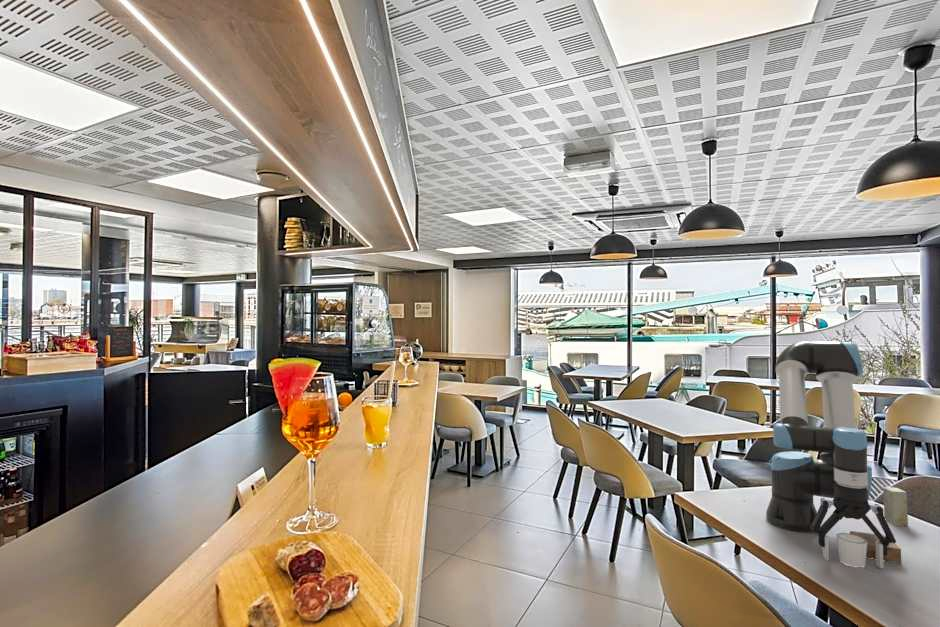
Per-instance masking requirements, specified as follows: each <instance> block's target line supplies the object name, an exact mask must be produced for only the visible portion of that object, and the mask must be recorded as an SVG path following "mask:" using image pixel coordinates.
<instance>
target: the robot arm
mask: <svg viewBox="0 0 940 627" xmlns="http://www.w3.org/2000/svg"><path fill="white" fill-rule="evenodd" d="M863 369H864V368H863V360H862V356H861V352H860V350H859V347H858V346H857V345H856V344H855V343H853V342H848V341H847V342H845V341H808V340H807V341H806V340H805V341H804V340H803V341H799V342H795V343H793V344H791V345H788V346H787V347H786V348H785V349H783V350H782V352H781V353H779V356H778V357H777V359H776V361H775V374H776V375H777V376H778V383H779V384H778V388H779V390H778V391H779V393H778V394H779V396H778V397H779V422H778V423H773V426H772V427H773V428H772V430H773V432H772V435H773V445H774V446H775V447H778V448H783V449H788V450H799V451H781V452H776V453H775V454H773V456H772V457H771V466H770V470H771V497H770V501H769V503H768V506H767V509H766V512H765V517H766V520H767V521H768V523H770V524H771V525H773V526H776V527H779V528H781V529H784V530H788V531H793V532H796V533H797V532H798V533H815V534H817V538H818V541H817V543H818V544H819V545H818V546H820V547H821V548H822V557H823V558H824V560H825V561H828V560H829V561H830V559H829V558H830V556H829V554H830V552H829V550H830V549H829V546H830V545H829V536H828V535H827V534H828V532H830V531H831V530H832V529H833V527H835V526H836V524H838V522H839V521H841V520H843V518H845V519H853V520H860V519H862V520H863V522H864V523H865V524H866V525H867V527H868V528H869V529H870V530H871V532H873V533H872V534H875V535H876V536H877V538H878V539H879V540H880V541H878V540H875V541H876V560H875V564H876V566H879V567H878V568H879V569H881V568H882V570H883V569H884V561H883V555H884V556H887V546H888V545H889V543H895V544H896V543H897V540H896V538H895V536H894V534H893V532H892V530H891V528H890V526H889V524H888V521H886V520H885V518H884V507H882V506H881V505H879V504H878V503H875V504H869V499H870V495H871V489H872V482H873V468H872V466H871V465H868V445H869V444H868V439H867V433H866V432H865V431H864V430H862V429H859V428H857V424H856V423H857V422H856V412H855V411H856V410H855V401H854V400H855V399H854V398H855V397H854V388H853V387H854V386H853V385H854V384H855V383H856V382H857V381H858V377H859V376H862V375H863V371H864V370H863ZM808 374H813V375H814V374H815V379H816V380H817V381H818V382H819V383H820V384H821V396H822V414H823V427H821V426H814V425H813V426H810V425H809V421H808V405H807V404H808V403H807V395H806V394H807V391H806V390H807V389H806V379H805V377H806V376H807V375H808ZM804 451H808V452H804ZM809 452H816V453H820V454H819V459H818V458H817V459H816V458H814V456H813V455H812V453H809ZM814 496H816V497H821V498H820V505H819V508H818V510H817V508H816V506H815V504H814V503H815V502H814ZM826 498H829V499H830V500H829V499H826ZM831 499H832V500H831ZM832 506H834V508H835V509H834V510H833V512H832V514H830V515H829V517H828V518H827V519H826V520H825V521H824V519H825V518H826V515H827V513H828V511H829V509H830V508H831V507H832ZM870 511H872V513H873V514H875V516H876V519H877V520H878V522H879V524H880V527H881V528H882V530H883V533H884V535H886V537H883V536H882V535H883V534H882V533H881V532H880V530H879V529H878V528H877V527H876V526H875V524H874V523H873V522H872V521H871V520H870V518H869V517H868V516H867V514H868V513H869V512H870Z"/></svg>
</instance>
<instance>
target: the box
mask: <svg viewBox="0 0 940 627" xmlns="http://www.w3.org/2000/svg"><path fill="white" fill-rule="evenodd" d="M882 490H883V492H882V493H883V494H882V495H883V515H884V518H885V519H886V520H887V521H886V522H888V521H889V522H888V523H890V524H891V523H892V525H893V524H896V525H895V526H904V525H907V526H909V518H908V497H907V496H908V495H907V493H908V492H906V491H905V490H902V489H900V488H898V487H889V486H883V487H882ZM907 526H906V527H907Z"/></svg>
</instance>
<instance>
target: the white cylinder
mask: <svg viewBox="0 0 940 627" xmlns="http://www.w3.org/2000/svg"><path fill="white" fill-rule="evenodd" d="M836 544H837V550H838V559H839V561H842V562H843V563H846V564H849V565H852V566H857V567H862V566H865V567H866V563H867V562H866V561H867V560H866V559H867V558H866V552H867V540H866V539H864V538H862V537H860V536H857V535H854V534H850V532H849V533H847V532H839V533H836ZM842 562H841V563H842ZM843 563H842V564H843Z"/></svg>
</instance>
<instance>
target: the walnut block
mask: <svg viewBox="0 0 940 627" xmlns="http://www.w3.org/2000/svg"><path fill="white" fill-rule="evenodd" d="M849 534H854V535H857V536H860V537H862V538H864V539H866V540H867V552H866V557H867V558H873V559H872V560H874V559H876V541H875V540H878V541H880V540H879V539H878V538H877V536H876V535H875V534H874V533H871V532H870V533H869V532H863V531H862V532H861V531H853V530H850V532H849ZM882 536H883V537H886V535H885V534H882ZM867 558H866V559H867ZM883 560H885V561H884V562H888V561H891V562H890V563H895V562H896V564H902V549H901V547H899V545H897V544H896V543H889V545H888V546H887V556H884V555H883Z"/></svg>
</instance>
